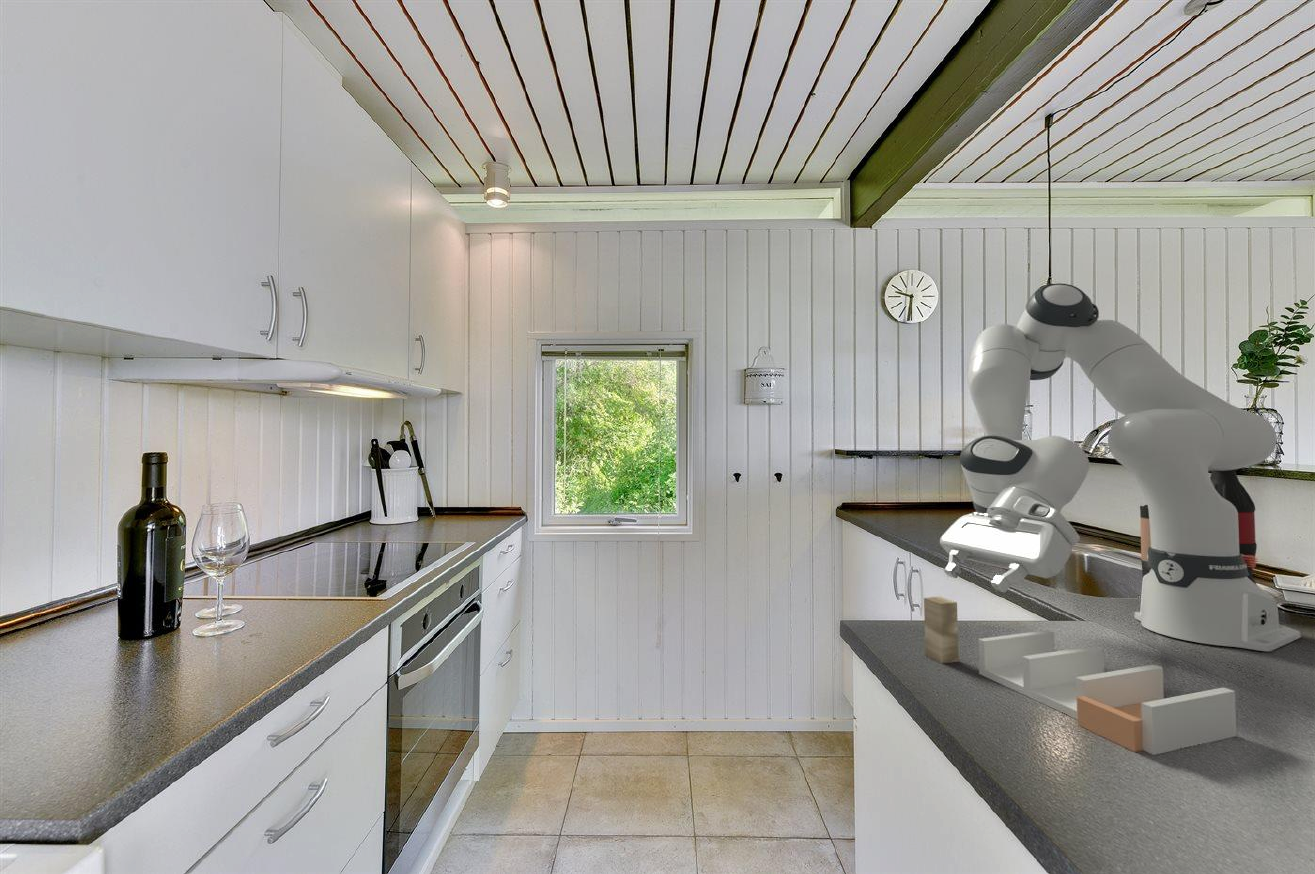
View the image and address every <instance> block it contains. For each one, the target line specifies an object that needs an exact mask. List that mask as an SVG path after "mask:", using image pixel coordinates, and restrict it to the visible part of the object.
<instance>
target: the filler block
mask: <svg viewBox="0 0 1315 874" xmlns="http://www.w3.org/2000/svg"><path fill="white" fill-rule="evenodd" d="M923 607H924V610H923V612H924V613H923V614H924V615H923V616H924V648H925V649H924V651H925V657H928V658H930V659H932V660H934V661H937V662H938V663H940V664H948V663H949V664H950V663H957V662H959V659H960V658H959V629H958V628H959V627H958V625H959V623H958V622H959V621H958V602H957V601H955V600H951V599H948V598H945V597H942V596H930V597H923Z"/></svg>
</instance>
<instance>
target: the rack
mask: <svg viewBox="0 0 1315 874" xmlns="http://www.w3.org/2000/svg"><path fill="white" fill-rule="evenodd" d="M977 642H978V643H977V644H978V672H979V675H981V676H983V677H985V678H987V679H989V680H991V681H994V682H995V683H998V684H999V685H1002V686H1004V687H1007V688H1009V689H1010V690H1013V691H1015V692H1016V693H1019V694H1022V695H1024V696H1025V697H1028V698H1030V699H1032V700H1034V701H1037V702H1039V703H1041V704H1043V705H1045V706H1047V707H1049V708H1052V709H1053V710H1056V711H1058V712H1059V713H1060V712H1061V713H1062V712H1063V713H1062V714H1064V713H1065V714H1064V715H1066V714H1067V715H1066V716H1069V717H1071V718H1074V719H1076V720H1077V726H1078V727H1079V726H1080V727H1082V728H1084V729H1086V730H1088V731H1090V732H1092V733H1094V734H1096V735H1099V736H1101V737H1102V738H1105V739H1107V740H1109V741H1111V742H1112V743H1115V744H1117V745H1119V746H1121V747H1123V748H1125V749H1128V750H1130V751H1132V752H1134V753H1136V752H1141V751H1144V752H1146V753H1148V754H1150V755H1153V756H1156V755H1160V754H1163V753H1168V752H1172V751H1173V752H1174V751H1176V750H1177V749H1178V750H1181V749H1180V748H1182V749H1185V748H1184V747H1187V748H1189V747H1188V746H1191V747H1193V746H1192V745H1195V746H1197V745H1196V744H1200V743H1204V744H1209V743H1213V742H1216V741H1222V740H1226V739H1230V738H1234V737H1237V736H1238V735H1237V717H1236V715H1237V714H1236V712H1237V711H1236V691H1235V690H1232V689H1230V688H1227V687H1218V688H1214V689H1213V688H1212V689H1209V690H1208V689H1207V690H1203V691H1198V692H1197V691H1196V692H1193V693H1187V694H1182V695H1175V696H1172V697H1167V698H1166V697H1165V695H1164V670H1163V667H1162V666H1159V665H1156V664H1149V665H1148V664H1147V665H1143V666H1136V667H1131V668H1123V669H1117V670H1112V671H1106V672H1105V660H1104V659H1105V658H1104V656H1105V655H1104V648H1103V647H1101V646H1098V645H1092V646H1084V647H1077V648H1071V649H1064V650H1057V651H1055V632H1054V631H1052V630H1048V629H1046V630H1045V629H1043V630H1037V631H1031V632H1021V633H1015V634H1014V633H1013V634H1007V635H999V636H991V637H985V638H984V637H983V638H978V641H977ZM1164 697H1165V698H1164ZM1200 745H1201V744H1200ZM1178 750H1177V751H1178Z"/></svg>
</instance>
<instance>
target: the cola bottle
mask: <svg viewBox="0 0 1315 874" xmlns="http://www.w3.org/2000/svg"><path fill="white" fill-rule="evenodd" d="M1238 470H1239V469H1234V470H1228V471H1211V473H1210V476H1209V477H1210V479H1211V482H1212V484H1213V486H1214V488H1215V489H1216V491H1217V492H1218V494H1219V495H1220V496H1221V497H1223V498H1224V499H1226V500H1228V501H1229V502H1231V503H1232V504H1233V505H1234V506H1235V508H1236V509H1237V512H1238V529H1239V554H1243V555H1252V556H1255V557H1256V554H1257V545H1258V544H1257V541H1256V518H1255V511H1256V505H1255V503H1254V501H1253V499H1252V497H1251V495H1250V494H1249V492H1248V491H1247V490H1246V488H1245V487H1244V486H1243V485H1242V483H1241V482H1240V480H1239V478H1238V475H1237V471H1238ZM1253 569H1254V568H1253V567H1248V566H1247V570H1248V573H1249V576H1247V577H1248V578H1249V579H1250V580H1251V581H1252V582H1254V583H1255V584H1256V585H1257V583H1256V581H1255V578H1254V575H1253V572H1254V571H1253ZM1257 586H1258V585H1257Z"/></svg>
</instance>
